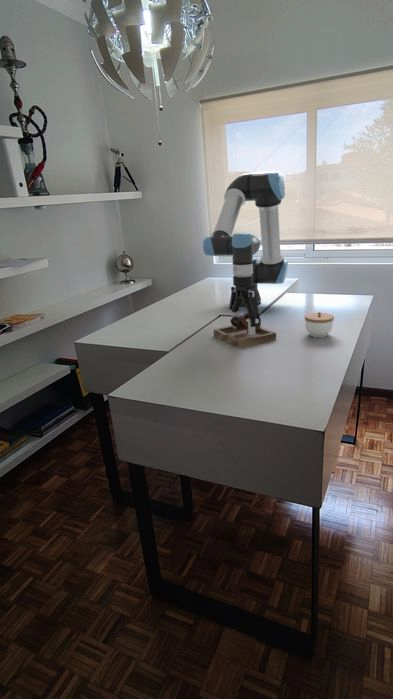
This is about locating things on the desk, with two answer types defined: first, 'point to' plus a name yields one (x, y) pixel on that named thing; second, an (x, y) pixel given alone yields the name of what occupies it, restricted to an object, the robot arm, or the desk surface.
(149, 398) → the desk surface
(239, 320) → the broken clay pot
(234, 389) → the desk surface
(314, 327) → the lidded jar
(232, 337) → the walnut tray
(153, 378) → the desk surface
